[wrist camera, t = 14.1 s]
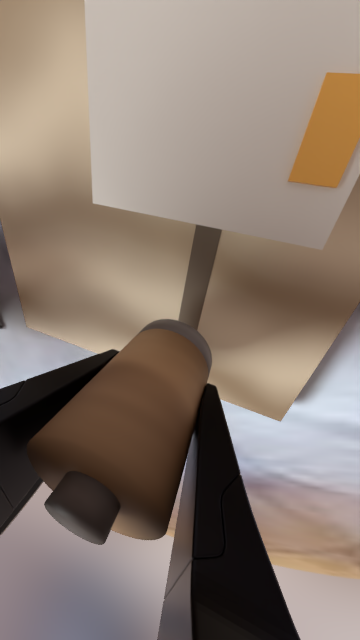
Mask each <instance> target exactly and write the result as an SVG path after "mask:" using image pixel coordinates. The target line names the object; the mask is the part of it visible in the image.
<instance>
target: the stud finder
mask: <svg viewBox="0 0 360 640" xmlns="http://www.w3.org/2000/svg"><path fill="white" fill-rule="evenodd" d="M84 4H85V28H86V52H87V77H88V101H89V125H90V150H91V174H92V198H93V203H94V204H99V205H104V206H109V207H113V208H118V209H123V210H128V211H133V212H138V213H143V214H148V215H153V216H158V217H163V218H167V219H172V220H177V221H182V222H187V223H192V224H197V225H202V226H207V227H212V228H217V229H221V230H226V231H231V232H236V233H241V234H246V235H251V236H256V237H261V238H266V239H271V240H275V241H280V242H285V243H290V244H295V245H300V246H305V247H310V248H315V249H320V250H322V249H323V247H324V245H325V243H326V241H327V239H328V237H329V235H330V233H331V231H332V229H333V227H334V225H335V223H336V221H337V219H338V217H339V215H340V213H341V211H342V209H343V207H344V205H345V203H346V201H347V199H348V197H349V195H350V193H351V191H352V189H353V187H354V185H355V183H356V181H357V179H358V177H359V175H360V0H84Z"/></svg>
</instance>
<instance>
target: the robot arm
mask: <svg viewBox="0 0 360 640" xmlns="http://www.w3.org/2000/svg"><path fill="white" fill-rule="evenodd" d="M119 352H120V351H118V350H115V349H111V350H108V351H105V352H103V353H100V354H97V355H94V356H91V357H89V358H86V359H83V360H80V361H77V362H75V363H72V364H69V365H66V366H63V367H61V368H58V369H55V370H52V371H49V372H47V373H44V374H41V375H38V376H35V377H33V378H30V379H27V380H26V381H21V382H19V383H16V384H13V385H10V386H7V387H4V388H1V389H0V527H1V526H2V525H3V523H4V522H5V521H6V520H7V518H8V517H9V516H10V515H11V513H12V512H13V511H14V509H15V508H16V507H17V505H18V504H19V503H20V502H21V500H22V499H23V498H24V496H25V495H26V494H27V493H28V491H29V490H30V489H31V488H32V486H33V485H34V484H35V483H36V481H37V480H38V479H39V477H40V476H39V475H38V474H37V472H36V471H35V469H34V468H33V466H32V464H31V462H30V460H29V458H28V455H27V444H28V442H29V441H30V440H31V439H32V438H33V437H34V436H35V435H36V434H37V433H38V432H39V431H40V430H41V429H42V428H43V427H44V426H45V425H46V424H47V423H48V422H49V421H50V420H51V419H52V418H53V417H54V416H55V415H56V414H57V413H58V412H59V411H60V410H61V409H62V408H63V407H64V406H65V405H66V404H67V403H68V402H69V401H70V400H71V399H72V398H73V397H74V396H75V395H76V394H77V393H78V392H79V391H80V390H81V389H82V388H83V387H84V386H85V385H86V384H87V383H88V382H90V381H91V380H92V379H93V378H94V377H95V376H96V375H97V374H98V373H99V372H100V371H101V370H102V369H103V368H104V367H105V366H106V365H107V364H108V363H109V362H110V361H111V360H112V359H113V358H114V357H115V356H116V355H117V354H118V353H119ZM164 599H165V600H164V602H163V608H162V614H161V620H160V626H159V632H158V639H157V640H300V638H299V635H298V633H297V630H296V628H295V626H294V623H293V621H292V618H291V615H290V613H289V610H288V608H287V605H286V602H285V600H284V597H283V594H282V592H281V589H280V586H279V584H278V581H277V578H276V576H275V573H274V570H273V567H272V565H271V562H270V559H269V557H268V554H267V551H266V549H265V546H264V543H263V541H262V538H261V535H260V532H259V530H258V527H257V524H256V521H255V518H254V515H253V513H252V510H251V506H250V503H249V500H248V496H247V493H246V490H245V486H244V483H243V479H242V476H241V475H240V469H239V465H238V462H237V458H236V454H235V451H234V447H233V444H232V440H231V437H230V433H229V429H228V426H227V422H226V419H225V415H224V411H223V408H222V404H221V401H220V397H219V394H218V390H217V387H216V386H215V385H212V384H210V383H207V384H206V387H205V390H204V394H203V398H202V401H201V405H200V409H199V413H198V417H197V421H196V425H195V429H194V433H193V436H192V440H191V444H190V447H189V451H188V457H187V463H186V469H185V475H184V481H183V487H182V493H181V499H180V505H179V511H178V517H177V523H176V530H175V536H174V542H173V548H172V554H171V561H170V566H169V573H168V578H167V584H166V591H165V596H164Z"/></svg>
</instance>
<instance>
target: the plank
mask: <svg viewBox="0 0 360 640" xmlns="http://www.w3.org/2000/svg"><path fill="white" fill-rule="evenodd" d="M0 220H1V224H2V228H3V232H4V236H5V241H6V245H7V249H8V253H9V257H10V261H11V265H12V269H13V273H14V277H15V281H16V285H17V289H18V294H19V298H20V302H21V306H22V310H23V314H24V318H25V322H26V326H27V327H28V328H31V329H34V330H36V331H39V332H42V333H44V334H47V335H50V336H52V337H55V338H58V339H60V340H63V341H66V342H68V343H71V344H74V345H76V346H79V347H82V348H84V349H87V350H90V351H93V352H95V353H98V354H100V353H103V352H105V351H108V350H111V349H115V350H118V351H121V350H122V349H123V348H124V347H125V346H126V345H127V344H128V343H129V342H130V341H131V340H132V339H133V338H134V337H135V336H136V335H137V334H138V333H139V332H140V331H141V330H142V329H143V328H144V327H145V326H146V325H148V324H149V323H151V322H153V321H156V320H160V319H173V320H177V321H181V322H183V323H186V324H188V325H190V326H191V327H193V328H194V329H195V330H197V331H198V332H199V333H200V334H201V335H202V336H203V337H204V339H205V340H206V342H207V343H208V345H209V347H210V350H211V354H212V366H211V370H210V374H209V377H208V381H207V383H210V384H212V385H215V386H216V387H217V390H218V394H219V397H220V399H221V400H224V401H227V402H229V403H232V404H235V405H237V406H240V407H243V408H245V409H248V410H251V411H254V412H256V413H259V414H262V415H264V416H267V417H270V418H272V419H275V420H278V421H280V422H281V420H282V419H283V417H284V416H285V414H286V413H287V411H288V410H289V408H290V406H291V405H292V403H293V402H294V400H295V399H296V397H297V396H298V394H299V393H300V391H301V390H302V388H303V387H304V385H305V384H306V382H307V381H308V379H309V378H310V376H311V375H312V373H313V372H314V370H315V369H316V367H317V366H318V364H319V363H320V361H321V360H322V358H323V357H324V355H325V354H326V352H327V351H328V349H329V348H330V346H331V345H332V343H333V342H334V340H335V339H336V337H337V336H338V334H339V333H340V331H341V330H342V328H343V327H344V325H345V324H346V322H347V321H348V319H349V318H350V316H351V315H352V313H353V312H354V310H355V309H356V307H357V306H358V304H359V303H360V175H359V177H358V179H357V181H356V183H355V185H354V187H353V189H352V191H351V193H350V195H349V197H348V199H347V201H346V203H345V205H344V207H343V209H342V211H341V213H340V215H339V217H338V219H337V221H336V223H335V225H334V227H333V229H332V231H331V233H330V235H329V237H328V239H327V241H326V243H325V245H324V247H323V249H322V250H320V249H315V248H310V247H305V246H300V245H295V244H290V243H285V242H280V241H275V240H271V239H266V238H261V237H256V236H251V235H246V234H241V233H236V232H231V231H226V230H221V229H217V228H212V227H207V226H202V225H197V224H192V223H187V222H182V221H177V220H172V219H167V218H163V217H158V216H153V215H148V214H143V213H138V212H133V211H128V210H123V209H118V208H113V207H109V206H104V205H99V204H94V203H93V198H92V174H91V150H90V125H89V101H88V77H87V52H86V28H85V4H84V0H0Z"/></svg>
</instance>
